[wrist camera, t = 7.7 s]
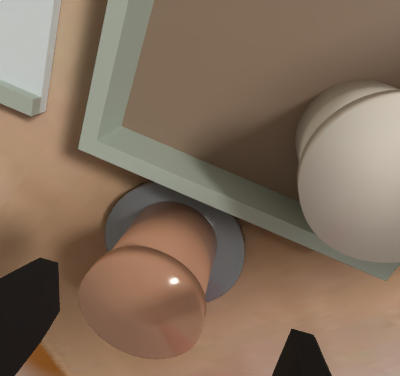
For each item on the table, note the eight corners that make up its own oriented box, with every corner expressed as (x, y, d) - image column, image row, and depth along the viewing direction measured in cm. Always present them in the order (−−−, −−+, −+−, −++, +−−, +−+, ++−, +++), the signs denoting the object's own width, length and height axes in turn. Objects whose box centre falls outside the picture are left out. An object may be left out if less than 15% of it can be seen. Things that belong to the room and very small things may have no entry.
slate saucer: (269, 215, 19) (269, 222, 18) (213, 315, 23) (212, 324, 23) (129, 155, 19) (123, 160, 19) (98, 265, 23) (92, 272, 23)
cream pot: (450, 104, 15) (555, 142, 9) (373, 209, 17) (419, 286, 12) (327, 52, 15) (361, 61, 9) (269, 165, 17) (269, 222, 12)
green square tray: (603, -70, 12) (722, -109, 9) (366, 240, 19) (385, 281, 16) (198, -235, 12) (174, -328, 9) (109, 130, 19) (78, 149, 16)
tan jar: (218, 285, 21) (199, 369, 16) (130, 270, 22) (85, 345, 17) (224, 204, 19) (205, 272, 13) (126, 191, 19) (70, 249, 14)
